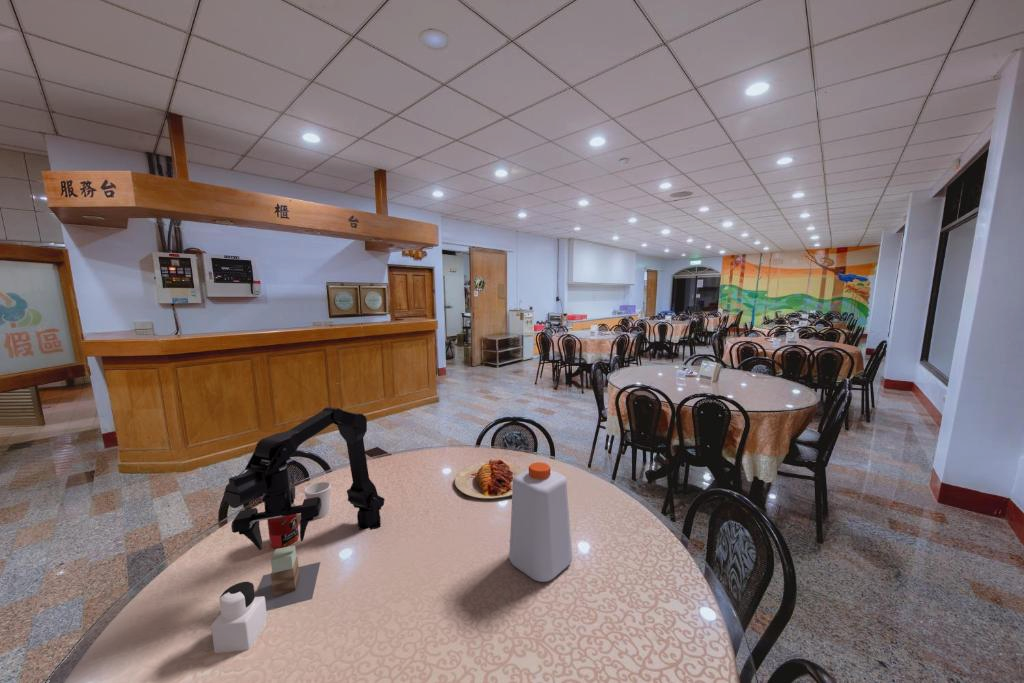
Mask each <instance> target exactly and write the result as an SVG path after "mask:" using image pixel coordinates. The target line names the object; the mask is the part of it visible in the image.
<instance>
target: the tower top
mask: <svg viewBox="0 0 1024 683" xmlns="http://www.w3.org/2000/svg"><path fill="white" fill-rule="evenodd" d="M298 567H299V559H298V556H296V560H295V563H294V566H293V569H289V570H285V571H281V572H277V573H272V572H271V573H270V574H271V582H272V585H276V584H280V583H284V582H288V581H292V580H295V577H296V573H297V570H298Z"/></svg>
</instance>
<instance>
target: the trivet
mask: <svg viewBox="0 0 1024 683" xmlns="http://www.w3.org/2000/svg"><path fill="white" fill-rule="evenodd" d="M320 566H321V561H318V562H313V563H310V564H305V565H301V566H298V567H299V580H298V584H297V587H296V591H293V592H289V593H285V594H281V595H277V596H273V592H272V582H271V573H267V574H263V576H262V578H261V580H260V582H259V584H258V587H257V589H256V592H255V597H262V596H264V597H265V603H266V612H268V611H271V610H275V609H279V608H282V607H286V606H291V605H295V604H297V603H298V604H299V603H302V602H305V601H309V600H313V597H314V593H315V588H316V584H317V579H318V575H319V570H320Z"/></svg>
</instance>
